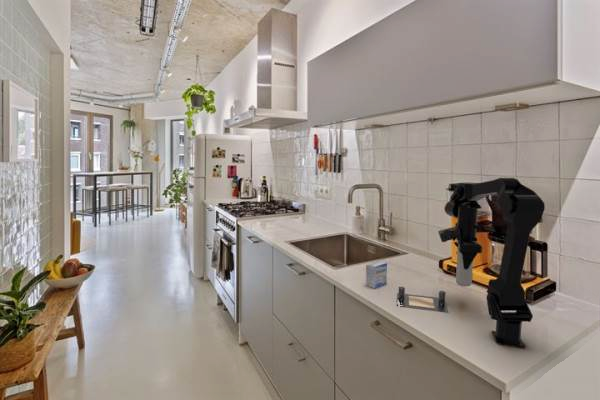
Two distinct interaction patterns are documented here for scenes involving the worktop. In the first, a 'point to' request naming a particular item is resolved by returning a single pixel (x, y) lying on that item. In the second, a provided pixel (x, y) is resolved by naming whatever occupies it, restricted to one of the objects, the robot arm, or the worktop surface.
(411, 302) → the post gate
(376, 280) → the medicine box
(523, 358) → the worktop surface
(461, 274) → the beverage can
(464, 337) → the worktop surface
